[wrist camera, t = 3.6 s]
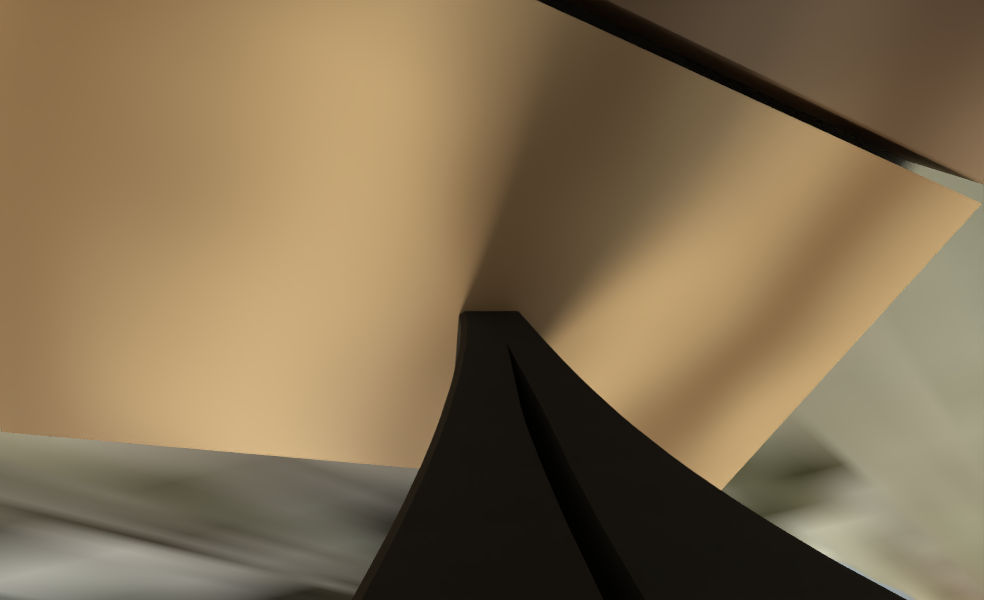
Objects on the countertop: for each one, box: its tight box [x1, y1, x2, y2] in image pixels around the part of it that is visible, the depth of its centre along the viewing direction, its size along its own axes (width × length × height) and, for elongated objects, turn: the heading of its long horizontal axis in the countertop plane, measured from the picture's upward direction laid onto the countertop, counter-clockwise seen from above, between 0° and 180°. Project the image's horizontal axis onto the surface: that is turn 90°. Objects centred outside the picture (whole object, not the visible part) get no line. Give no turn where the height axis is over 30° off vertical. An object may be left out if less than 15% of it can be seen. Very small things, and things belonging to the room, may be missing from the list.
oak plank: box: [0, 0, 981, 490], centre depth 10 cm, size 18×10×2 cm, turn 70°
